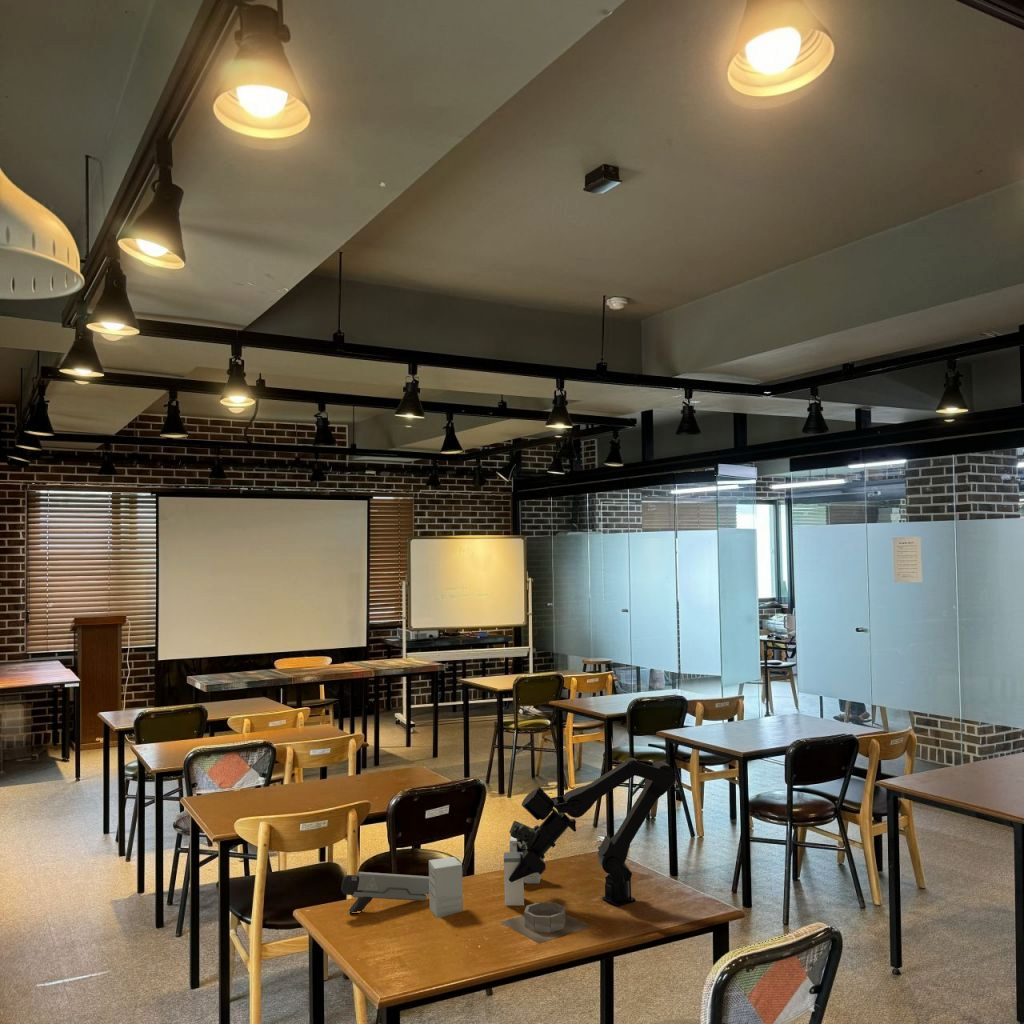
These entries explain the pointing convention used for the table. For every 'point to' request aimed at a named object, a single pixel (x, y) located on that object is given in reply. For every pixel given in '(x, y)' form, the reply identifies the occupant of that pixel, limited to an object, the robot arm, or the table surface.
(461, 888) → the supplement box
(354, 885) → the gun
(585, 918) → the table surface
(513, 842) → the ink box
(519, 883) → the link block
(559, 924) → the ring stand
